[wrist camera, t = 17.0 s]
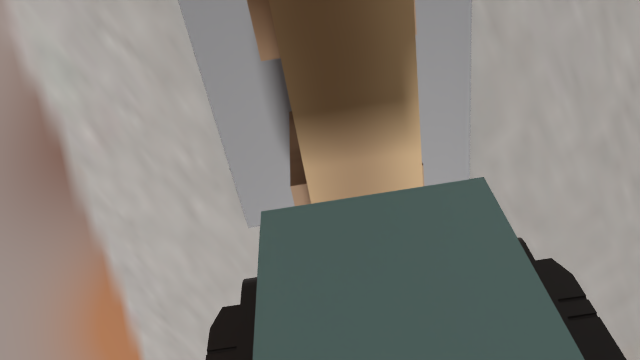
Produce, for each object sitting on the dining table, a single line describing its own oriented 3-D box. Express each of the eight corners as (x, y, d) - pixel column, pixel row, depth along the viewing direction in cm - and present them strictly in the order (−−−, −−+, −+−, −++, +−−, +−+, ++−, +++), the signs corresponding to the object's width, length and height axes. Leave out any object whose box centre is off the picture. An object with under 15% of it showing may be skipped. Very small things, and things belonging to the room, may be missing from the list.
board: (467, -231, 18) (474, -232, 17) (465, 184, 28) (469, 193, 28) (132, -166, 19) (126, -165, 18) (249, 218, 29) (248, 227, 28)
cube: (483, 176, 10) (593, 375, 7) (478, 323, 13) (555, 526, 9) (261, 211, 11) (248, 424, 7) (299, 349, 13) (305, 557, 9)
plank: (386, -129, 14) (407, -118, 11) (412, 253, 22) (429, 309, 19) (256, -106, 14) (250, -89, 12) (330, 266, 22) (336, 322, 20)
